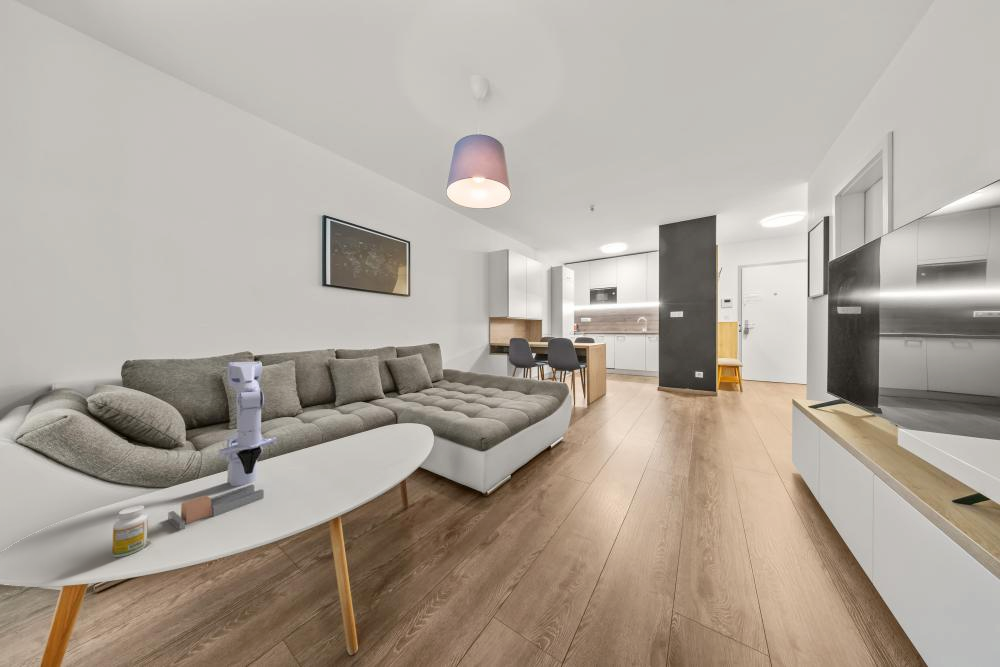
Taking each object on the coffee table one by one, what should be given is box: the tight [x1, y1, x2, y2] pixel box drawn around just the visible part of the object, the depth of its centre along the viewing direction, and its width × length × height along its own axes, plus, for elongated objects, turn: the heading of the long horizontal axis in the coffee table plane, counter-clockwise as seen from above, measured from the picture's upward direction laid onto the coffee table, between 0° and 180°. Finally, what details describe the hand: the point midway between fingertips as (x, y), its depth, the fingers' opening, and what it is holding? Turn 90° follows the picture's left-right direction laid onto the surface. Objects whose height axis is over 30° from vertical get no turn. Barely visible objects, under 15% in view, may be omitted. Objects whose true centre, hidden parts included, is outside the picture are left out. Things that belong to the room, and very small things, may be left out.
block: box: [180, 494, 212, 525], centre depth 86 cm, size 4×5×4 cm
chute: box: [167, 484, 265, 532], centre depth 92 cm, size 10×22×4 cm, turn 149°
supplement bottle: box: [111, 504, 149, 558], centre depth 74 cm, size 5×5×10 cm
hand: (248, 472), depth 97 cm, fingers closed
